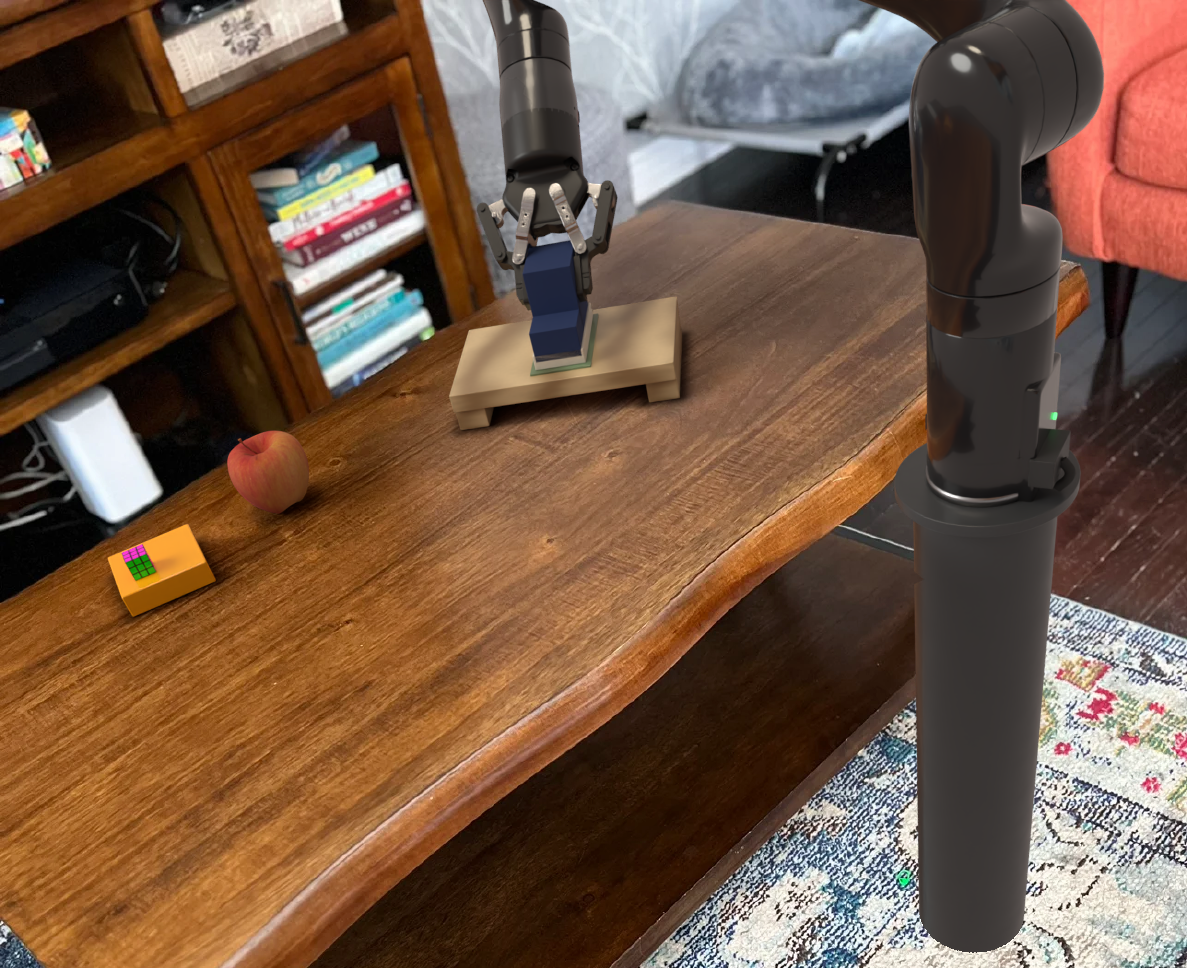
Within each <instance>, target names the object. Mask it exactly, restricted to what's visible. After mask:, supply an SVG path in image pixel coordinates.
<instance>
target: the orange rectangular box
mask: <svg viewBox="0 0 1187 968" xmlns="http://www.w3.org/2000/svg"><path fill="white" fill-rule="evenodd" d="M107 561H108V564H109V567H110V569H111V573H112V575H113V578H114V580H115V584H116V586H117V589H118V592H119V594H120V597H121V600H122V601H123V603H124V605H125V606H126V608H127V610H128V611H129V613H130V615H131V617H134V618H135V617H136V616H138V615H141V614H144V613H145V612H148V611H150V610H152V609H156V608H157V607H159V606H162V605H164V604H166V603H169V602H171V601H174V600H175V599H178V598H180V597H183V596H185V595H187V594H189V593H192V592H194V591H196V590H199V589H201V588H203V587H206V586H208V585H211V584H213V583H215V582H216V580H217V579H216V577H215V575H214V572H213V571H212V569H211V567H210V565H209V563H208V560H207V559H206V556H205V555H204V552H203V550H202V548H201V546H200V544H199V542H198V540H197V538H196V536H195V534H194V532H193V530H192V528H191V526H190V524H188V523H186V524H184V525H181V526H179V527H176V528H174V529H172V530H170V531H167V532H165V533H162V534H160V535H158V536H157V535H156V536H155V537H153V538H150V539H148V540H146V541H143V542H141V543H139V544H137V545H133V546H132V547H129V548H127V549H125V550H122V551H120V552H117V553H115V554H113V555H109V556H107Z"/></svg>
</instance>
